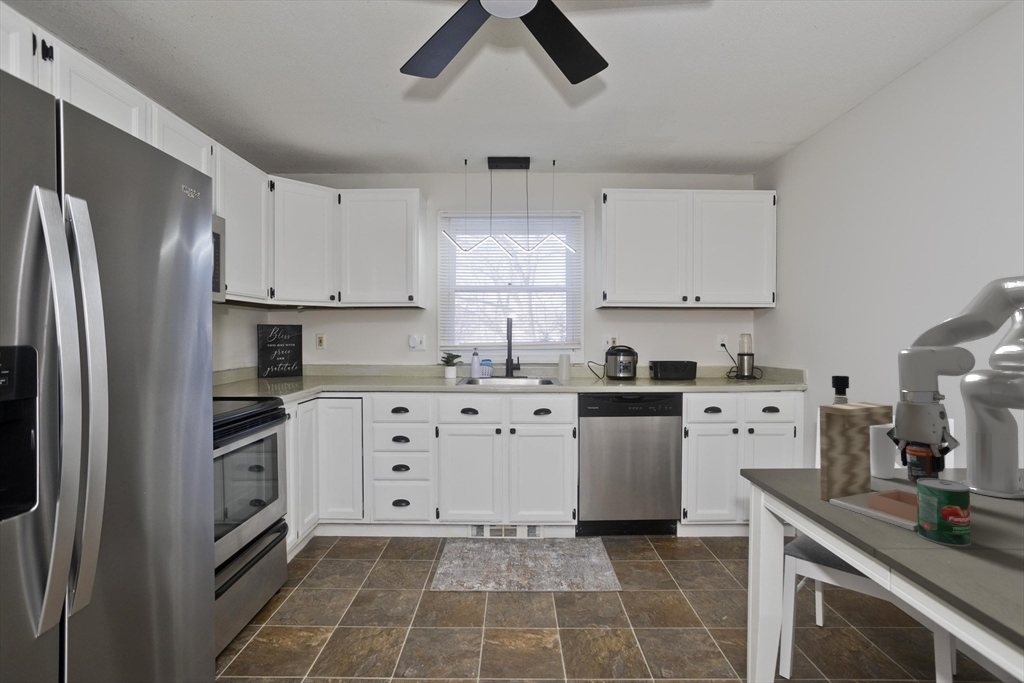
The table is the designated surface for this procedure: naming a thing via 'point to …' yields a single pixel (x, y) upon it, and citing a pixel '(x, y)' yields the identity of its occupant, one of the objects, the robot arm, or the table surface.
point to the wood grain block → (848, 446)
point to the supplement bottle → (919, 461)
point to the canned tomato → (943, 511)
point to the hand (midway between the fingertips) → (922, 467)
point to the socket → (884, 506)
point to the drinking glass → (882, 452)
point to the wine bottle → (840, 388)
